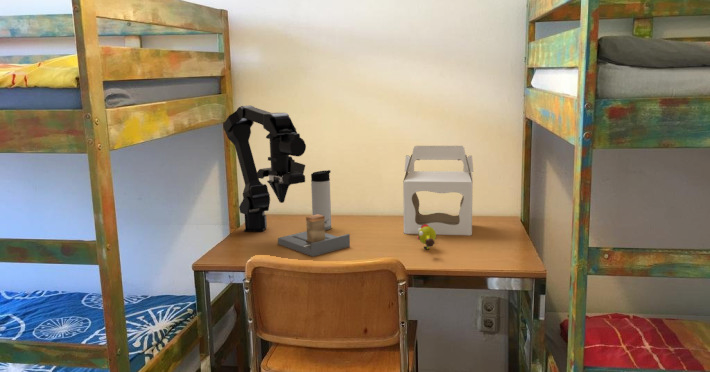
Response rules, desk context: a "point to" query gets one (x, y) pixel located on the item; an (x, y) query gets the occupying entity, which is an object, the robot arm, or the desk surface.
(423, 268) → the desk surface
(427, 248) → the toy figure
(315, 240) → the block
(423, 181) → the gable box
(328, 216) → the travel mug
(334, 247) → the console
